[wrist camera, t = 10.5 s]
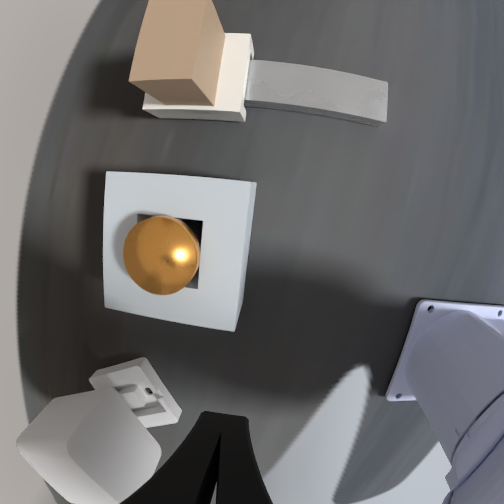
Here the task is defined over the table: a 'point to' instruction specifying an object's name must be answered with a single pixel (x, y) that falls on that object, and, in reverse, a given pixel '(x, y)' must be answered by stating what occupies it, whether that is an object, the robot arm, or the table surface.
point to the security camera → (101, 435)
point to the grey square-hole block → (212, 244)
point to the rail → (316, 92)
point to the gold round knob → (163, 253)
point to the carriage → (190, 62)
